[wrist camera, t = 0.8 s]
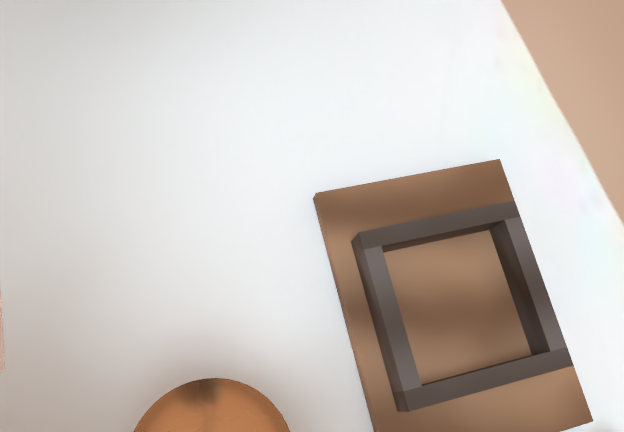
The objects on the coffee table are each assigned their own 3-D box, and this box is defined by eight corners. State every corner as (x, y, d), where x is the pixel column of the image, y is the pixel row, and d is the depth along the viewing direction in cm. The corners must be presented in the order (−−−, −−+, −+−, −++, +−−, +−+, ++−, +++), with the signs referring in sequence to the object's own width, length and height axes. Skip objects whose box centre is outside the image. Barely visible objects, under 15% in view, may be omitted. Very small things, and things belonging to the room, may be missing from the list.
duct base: (313, 198, 36) (322, 180, 33) (492, 165, 38) (514, 145, 36) (387, 480, 32) (404, 487, 29) (583, 421, 34) (616, 421, 31)
